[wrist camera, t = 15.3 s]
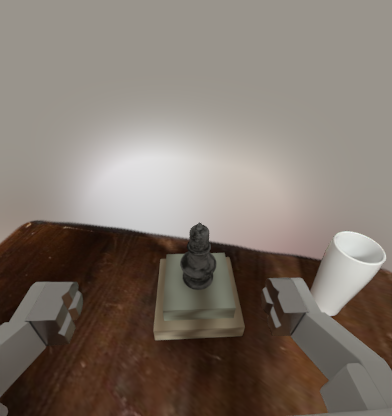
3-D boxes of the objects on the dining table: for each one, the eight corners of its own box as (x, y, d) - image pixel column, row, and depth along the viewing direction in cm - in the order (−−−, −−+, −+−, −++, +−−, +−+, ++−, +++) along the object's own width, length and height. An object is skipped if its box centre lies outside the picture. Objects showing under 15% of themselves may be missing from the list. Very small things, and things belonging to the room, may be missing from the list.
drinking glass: (305, 281, 45) (333, 225, 36) (343, 296, 42) (384, 239, 33) (300, 310, 40) (331, 253, 31) (342, 329, 38) (390, 272, 29)
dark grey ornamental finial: (222, 277, 38) (229, 224, 31) (196, 298, 35) (198, 244, 28) (199, 257, 42) (201, 205, 35) (173, 274, 39) (170, 221, 31)
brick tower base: (155, 340, 36) (151, 321, 32) (161, 268, 47) (159, 248, 43) (242, 336, 36) (247, 317, 33) (227, 266, 48) (231, 246, 44)
